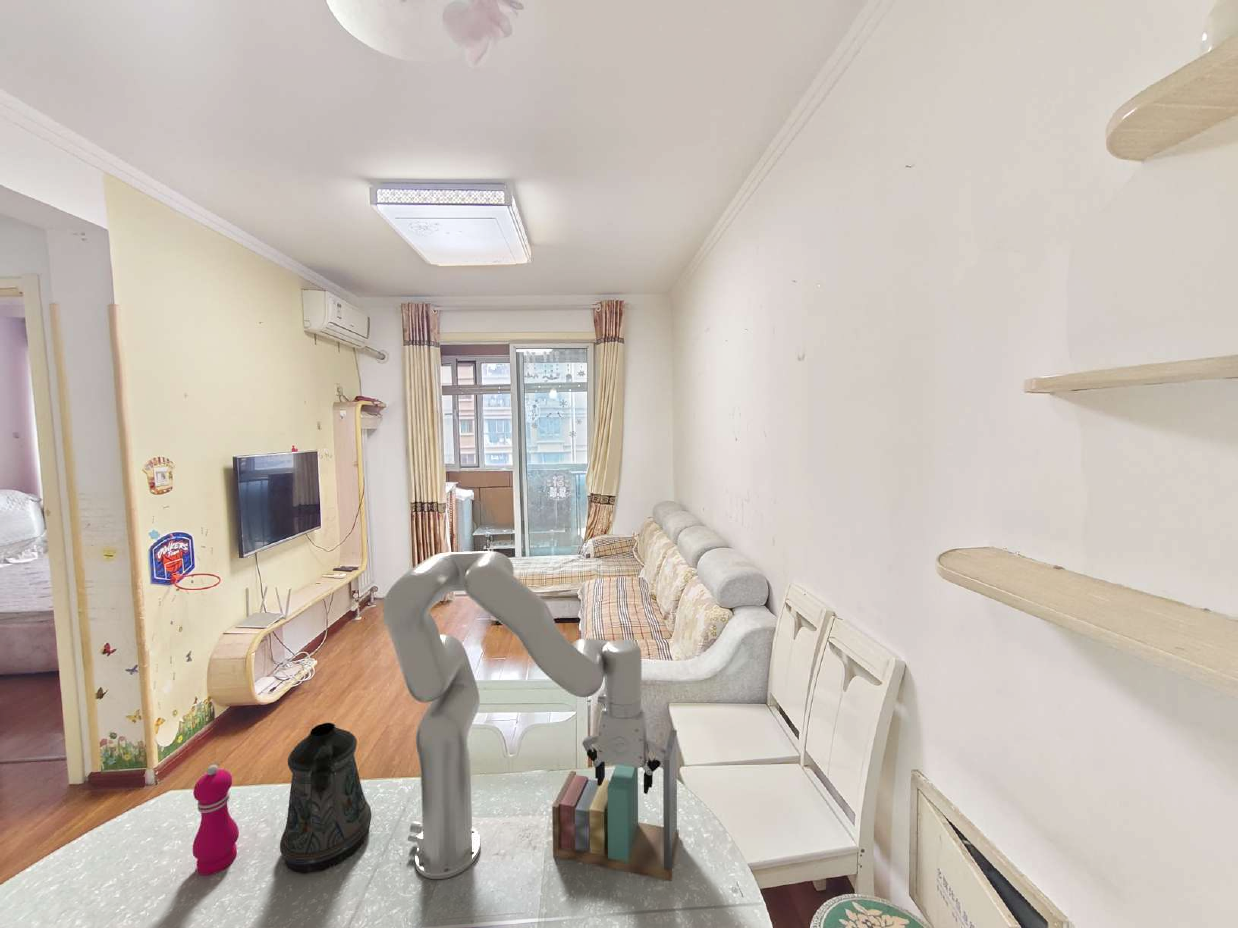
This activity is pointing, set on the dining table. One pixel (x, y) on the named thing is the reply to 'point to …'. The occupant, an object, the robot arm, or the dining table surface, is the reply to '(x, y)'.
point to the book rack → (602, 831)
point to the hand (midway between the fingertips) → (623, 785)
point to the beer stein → (324, 802)
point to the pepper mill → (214, 822)
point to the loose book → (622, 811)
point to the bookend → (670, 798)
